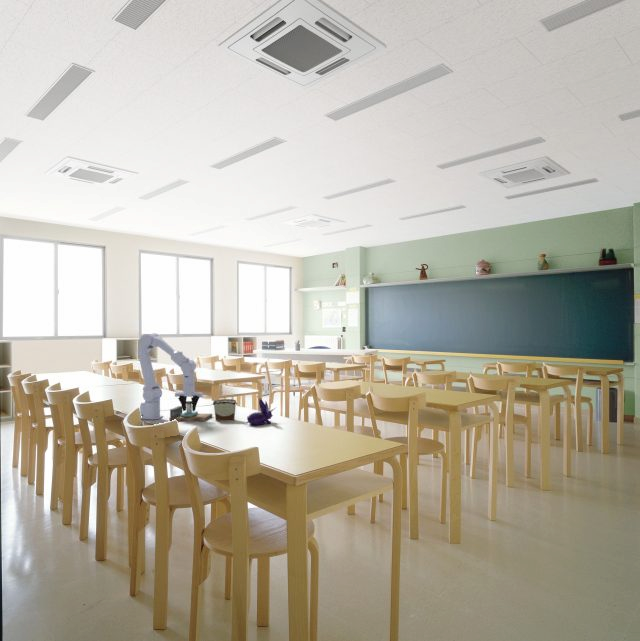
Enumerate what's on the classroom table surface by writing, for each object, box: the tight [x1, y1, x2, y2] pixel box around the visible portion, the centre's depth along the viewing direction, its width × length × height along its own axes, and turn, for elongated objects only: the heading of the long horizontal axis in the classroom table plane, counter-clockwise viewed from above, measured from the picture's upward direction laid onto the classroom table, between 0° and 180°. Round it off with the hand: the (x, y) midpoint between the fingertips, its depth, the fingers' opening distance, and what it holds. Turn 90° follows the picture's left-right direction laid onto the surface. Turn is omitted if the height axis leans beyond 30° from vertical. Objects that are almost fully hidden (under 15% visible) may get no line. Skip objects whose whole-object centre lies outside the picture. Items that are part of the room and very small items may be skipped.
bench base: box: [168, 405, 213, 423], centre depth 250 cm, size 18×12×6 cm, turn 81°
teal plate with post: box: [180, 400, 199, 417], centre depth 250 cm, size 6×8×7 cm
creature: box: [245, 397, 276, 426], centre depth 236 cm, size 9×18×12 cm, turn 127°
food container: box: [212, 398, 238, 422], centre depth 247 cm, size 12×6×10 cm, turn 84°
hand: (189, 410), depth 250 cm, fingers open, 4 cm apart
